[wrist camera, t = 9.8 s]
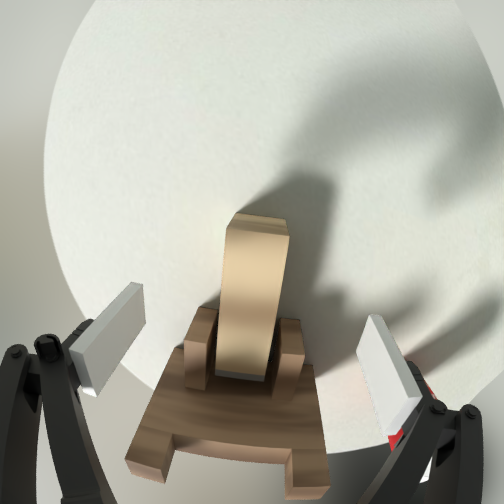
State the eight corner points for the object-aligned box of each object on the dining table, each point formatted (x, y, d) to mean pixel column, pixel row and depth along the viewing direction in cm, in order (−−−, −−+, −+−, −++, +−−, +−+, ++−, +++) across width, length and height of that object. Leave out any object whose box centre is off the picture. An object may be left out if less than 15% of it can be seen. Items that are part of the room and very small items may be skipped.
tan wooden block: (235, 212, 26) (226, 228, 20) (285, 219, 26) (289, 236, 20) (223, 339, 30) (215, 375, 25) (264, 344, 30) (263, 381, 25)
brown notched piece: (173, 302, 29) (106, 415, 14) (324, 322, 29) (359, 448, 14) (175, 366, 32) (131, 474, 17) (306, 383, 32) (319, 498, 17)
